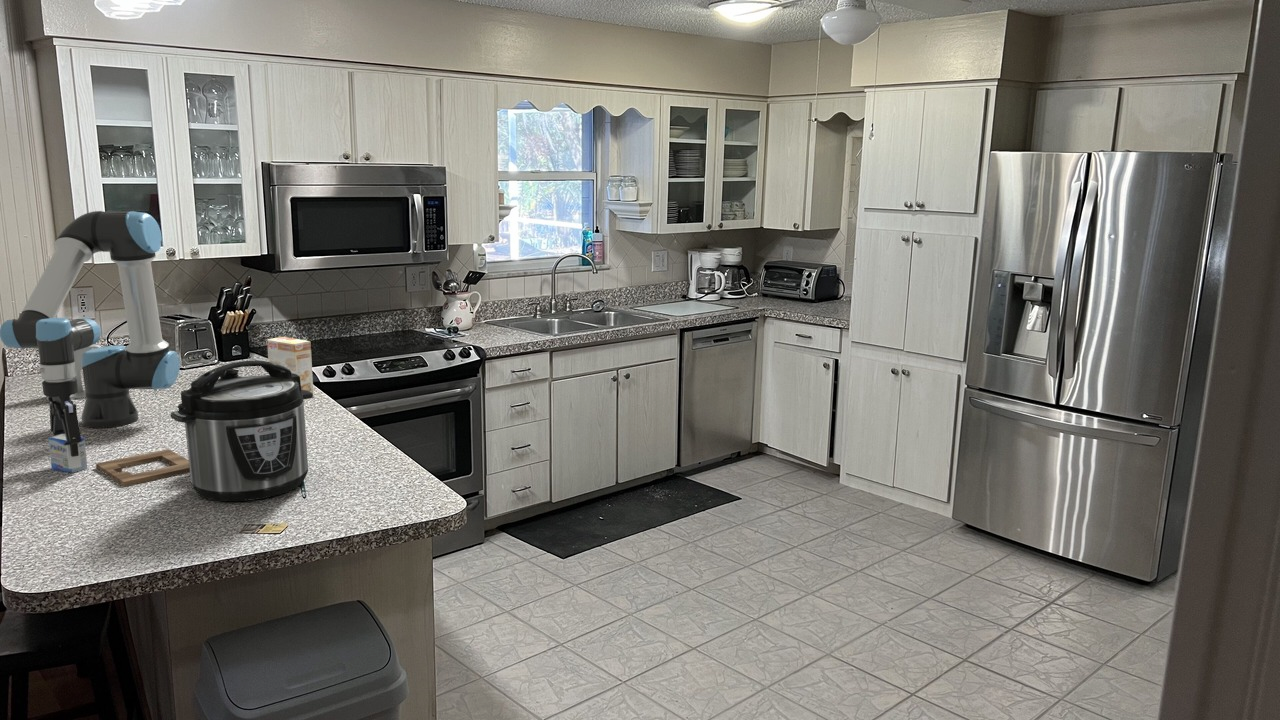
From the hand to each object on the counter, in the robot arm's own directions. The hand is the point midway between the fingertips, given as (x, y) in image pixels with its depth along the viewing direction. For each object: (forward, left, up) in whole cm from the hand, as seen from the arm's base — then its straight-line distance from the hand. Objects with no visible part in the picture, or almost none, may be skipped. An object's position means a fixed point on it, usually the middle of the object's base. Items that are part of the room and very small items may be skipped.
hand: (69, 463), depth 236 cm
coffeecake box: (-35, +79, -2) cm, 86 cm away
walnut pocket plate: (+14, +14, -2) cm, 20 cm away
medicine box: (0, 0, -2) cm, 2 cm away
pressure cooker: (+46, +27, -2) cm, 53 cm away
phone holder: (-84, +27, -2) cm, 88 cm away
